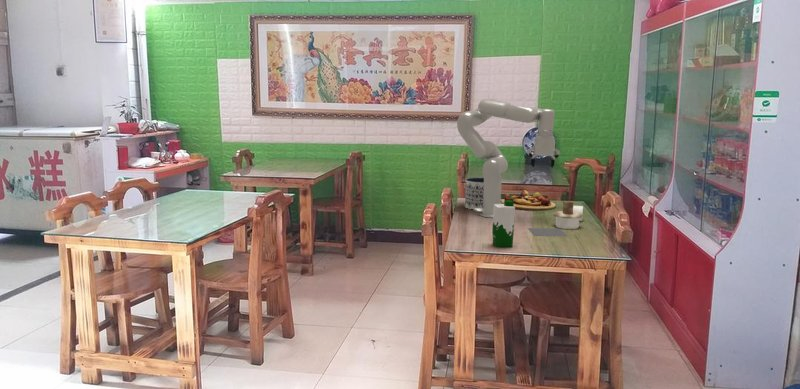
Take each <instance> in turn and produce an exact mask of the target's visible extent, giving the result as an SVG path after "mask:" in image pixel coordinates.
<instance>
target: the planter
mask: <svg viewBox="0 0 800 389" xmlns="http://www.w3.org/2000/svg"><path fill="white" fill-rule="evenodd" d="M464 193H465V194H464V208H465V209H467V208H468V209H467V210H470V209H473V210H472V211H474V208H482V206H483V194H484V177H470V178H469V177H468V178H466V179H465V192H464Z"/></svg>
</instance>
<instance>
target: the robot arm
mask: <svg viewBox="0 0 800 389" xmlns="http://www.w3.org/2000/svg"><path fill="white" fill-rule="evenodd" d="M555 114H556V112H555V110H554V109H552V108H537V107H525V106H524V107H523V106H518V105H515V104H511V102H508V101H502V100H496V99H493V98H483V99H482V100H481V101H479V103H478V105H477V108H476V109H475V110H466V111H464V112H462V113H461V114H460V115H459V117H458V118H457V123H456V128H457V131H458V133H459V135H460V137H461V138H462V139H463V140H464V142H465V143H466V145H467V146H468V148H469V149H470V150H471V152H472V153H473V154H474V156H475V157H476V159H479V160H485V161H484V163H483V166H482V174H483V178H484V194H483V206H482V208H474V210H473V212H477V213H479V216H481V217H484V218H489V219H490V218H492V219H493V207H494V204H501V201H502V176H501V174H503V173H506V171H507V169H508V166H509V163H508V161H507V159H506V157H505V156H504V154H503V153H502V152H501V150H500V148H498V146H497V145H496V144H495V143H494V142H493V141H490V140H484V139H483V136H481V134H480V133H479V131H477V130H476V129H475V127H477V126H480V125H482V124H483V123H485V122H486V121H487V120H489V119H490V118H493V117H494V118H499V119H505V120H509V121H515V122H521V123H526V124H530V123H538V125H537V126H538V127H537V130H535V131H534V134H536V136H535V140H534V144H533V145H534V146H531V147H529V148H527V149H526V153H527V154H528V156H529V157H530V166H532V167H535V160H536V159H535V158H536V157H537V156H540V157H551V159H550V163H549V164H550V165H549V167H551V168H554V166H555V160H556V159H558V157H560V154H561V151H560V149H558V148H555V136H554V125H555V124H554V123H555ZM531 151H532V153H531ZM555 152H556V153H555Z"/></svg>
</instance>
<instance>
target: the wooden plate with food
mask: <svg viewBox="0 0 800 389" xmlns="http://www.w3.org/2000/svg"><path fill="white" fill-rule="evenodd" d="M505 200H512V201H514V207H515V210H518V209H519V211H533V212H535V211H537V212H539V211H540V212H542V211H549V210H554V209H555V208H557V205H556V203H554V202H553V201H551V199H550V198H547V197H546V196H545V195H544V194H541V193H540V192H539V191H536V192H534V193H533V194H532V195H530V193H529V191H527V190H526V189H523V190H522V191H521V192H520V194H519V195H511V194H508V193H507V194H505V195H504V199H501V204H504V201H505Z"/></svg>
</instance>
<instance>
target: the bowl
mask: <svg viewBox="0 0 800 389" xmlns="http://www.w3.org/2000/svg"><path fill="white" fill-rule="evenodd" d="M579 226H580V221H579V218H560V217H556V216H555V227H556V228H557V229H563V230H564V229H565V230H575V229H579V228H580V227H579Z"/></svg>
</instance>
